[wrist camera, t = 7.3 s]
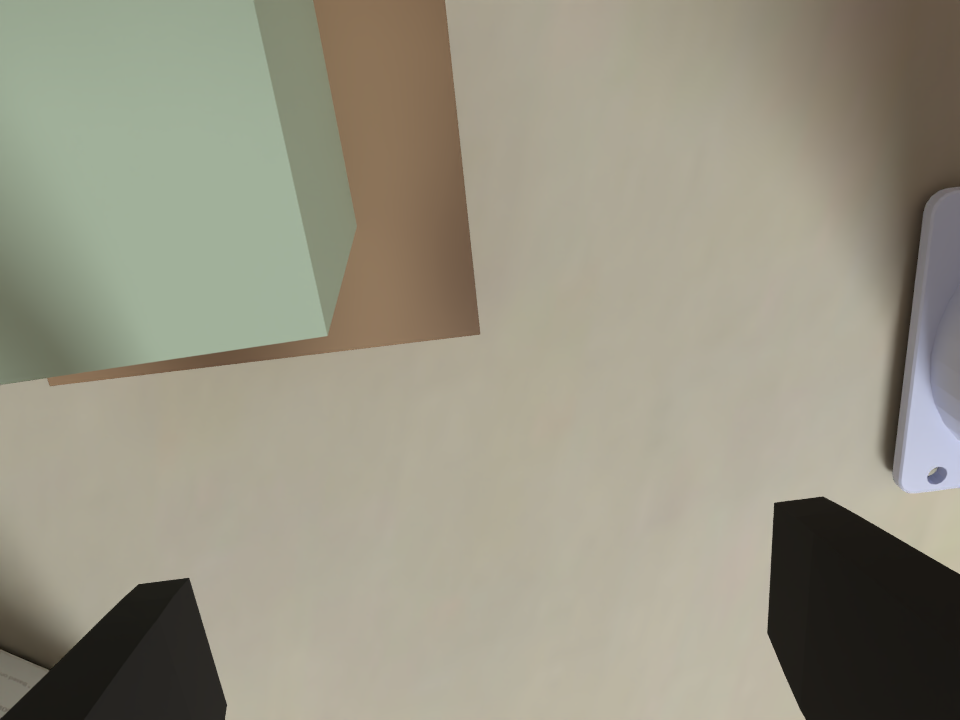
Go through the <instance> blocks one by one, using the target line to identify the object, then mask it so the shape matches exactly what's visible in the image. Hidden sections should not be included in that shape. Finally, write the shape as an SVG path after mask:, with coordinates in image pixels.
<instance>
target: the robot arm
mask: <svg viewBox="0 0 960 720" xmlns="http://www.w3.org/2000/svg"><path fill="white" fill-rule="evenodd" d="M936 467H938V468H937V470H936V472H935V473H934V474H932V475H930V476H928V474H929V472H930V471H931V470H932V469H933V468H936ZM892 475H893V480H894V482H895V483H896V484H897V485H898V486H899V487H900V488H901V489H902V490H903V491H905V492H907V493H922V492H930V491H937V490H945V489H953V488H960V187H952V188H946V189H943V190H940V191H938V192H937V193H935V194H934V195H932V196H931V198H930V199H929V200H928V202H927V203H926V206H925V209H924V212H923V220H922V229H921V237H920V245H919V254H918V262H917V271H916V279H915V287H914V296H913V304H912V313H911V321H910V329H909V338H908V346H907V355H906V363H905V371H904V380H903V388H902V397H901V405H900V413H899V422H898V430H897V439H896V447H895V455H894V464H893V472H892ZM767 633H768V636H769V638H770V640H771V643H772V645H773V648H774V650H775V652H776V655H777V657H778V660H779V662H780V665H781V667H782V669H783V672H784V674H785V676H786V679H787V681H788V683H789V685H790V688H791V690H792V692H793V694H794V697H795V699H796V701H797V703H798V706H799V708H800V710H801V712H802V713H803V715H804V717H805V719H806V720H960V574H958V573H957V572H955V571H953V570H951V569H950V568H948V567H946V566H944V565H943V564H941V563H939V562H937V561H936V560H934V559H932V558H930V557H929V556H927V555H925V554H923V553H922V552H920V551H918V550H917V549H915V548H913V547H911V546H910V545H908V544H906V543H905V542H903V541H901V540H899V539H898V538H896V537H894V536H893V535H891V534H889V533H887V532H886V531H884V530H882V529H881V528H879V527H877V526H875V525H874V524H872V523H870V522H868V521H867V520H865V519H863V518H862V517H860V516H858V515H856V514H855V513H853V512H851V511H849V510H847V509H846V508H844V507H842V506H840V505H838V504H836V503H834V502H832V501H830V500H829V499H827V498H825V497H816V498H808V499H801V500H793V501H785V502H777V503H774V518H773V537H772V556H771V575H770V593H769V612H768V631H767ZM226 707H227V704H226V700H225V697H224V694H223V690H222V687H221V684H220V680H219V677H218V673H217V670H216V667H215V663H214V660H213V657H212V653H211V650H210V647H209V643H208V640H207V636H206V633H205V630H204V626H203V623H202V620H201V616H200V613H199V610H198V606H197V603H196V599H195V596H194V593H193V589H192V586H191V583H190V579H189V578H184V579H176V580H169V581H161V582H153V583H145V584H138V585H137V586H136V587H135V588H134V589H133V590H132V591H131V592H130V593H128V594H127V595H126V596H125V597H124V598H123V599H122V600H121V601H120V602H119V603H118V604H117V605H116V606H115V607H114V608H113V609H112V610H111V611H109V612H108V613H107V614H106V615H105V616H104V617H103V618H102V619H101V620H100V621H99V622H98V623H97V624H96V625H95V626H94V627H93V628H92V629H91V630H90V631H89V632H88V633H87V634H86V635H85V636H84V637H83V638H82V639H81V640H80V641H79V642H78V643H77V644H76V645H75V646H74V647H73V648H72V649H71V650H70V651H69V652H68V653H67V654H66V655H65V656H64V657H63V658H62V659H61V660H60V661H59V662H58V663H57V664H56V665H55V666H54V667H53V668H52V669H51V670H50V671H49V672H48V673H47V674H46V675H45V676H44V677H43V678H42V679H41V680H40V681H39V682H38V683H36V684H35V685H34V686H33V687H32V688H31V689H30V690H29V691H28V692H27V693H26V694H25V695H24V696H23V697H22V698H21V699H20V700H19V701H18V702H17V703H16V704H15V705H14V706H13V707H12V708H11V709H10V710H9V711H8V712H7V713H6V714H5V715H4V716H3V717H1V718H0V720H225V714H226Z"/></svg>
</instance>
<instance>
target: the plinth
mask: <svg viewBox="0 0 960 720" xmlns="http://www.w3.org/2000/svg"><path fill="white" fill-rule="evenodd" d="M313 3H314V8H315V13H316V18H317V23H318V28H319V33H320V39H321V44H322V49H323V54H324V59H325V64H326V70H327V75H328V80H329V85H330V90H331V95H332V100H333V106H334V111H335V116H336V121H337V126H338V131H339V136H340V142H341V147H342V152H343V157H344V162H345V167H346V173H347V178H348V183H349V188H350V193H351V198H352V203H353V209H354V214H355V219H356V224H357V228H356V231H355V235H354V239H353V243H352V246H351V250H350V254H349V258H348V261H347V265H346V269H345V273H344V276H343V280H342V284H341V288H340V291H339V295H338V299H337V303H336V306H335V310H334V314H333V318H332V321H331V325H330V329H329V332H328V336H325V337H318V338H311V339H304V340H298V341H291V342H284V343H278V344H271V345H264V346H258V347H251V348H244V349H237V350H231V351H224V352H217V353H211V354H204V355H197V356H191V357H184V358H177V359H170V360H164V361H157V362H150V363H144V364H137V365H130V366H124V367H117V368H110V369H103V370H97V371H90V372H83V373H77V374H70V375H63V376H57V377H50V378H47V379H48V382H49V385H50V386H55V385H63V384H71V383H80V382H88V381H96V380H105V379H113V378H121V377H130V376H138V375H146V374H155V373H163V372H171V371H180V370H188V369H196V368H205V367H213V366H221V365H230V364H238V363H246V362H254V361H263V360H271V359H279V358H288V357H296V356H304V355H313V354H321V353H329V352H338V351H346V350H354V349H363V348H371V347H379V346H388V345H396V344H404V343H412V342H421V341H429V340H437V339H446V338H454V337H462V336H471V335H479V334H480V327H479V318H478V308H477V299H476V289H475V280H474V270H473V261H472V252H471V242H470V233H469V223H468V214H467V204H466V195H465V186H464V176H463V167H462V157H461V148H460V138H459V129H458V120H457V110H456V101H455V91H454V82H453V73H452V63H451V54H450V44H449V35H448V25H447V16H446V7H445V0H313Z"/></svg>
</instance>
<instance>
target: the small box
mask: <svg viewBox="0 0 960 720" xmlns="http://www.w3.org/2000/svg"><path fill="white" fill-rule="evenodd" d="M49 671H50V670H48V669H45V668H43V667H41V666H38V665H36V664H34V663H31V662H29V661H26V660H24V659H22V658H19V657H17V656H15V655H12V654H10V653H8V652H5V651H3V650H1V649H0V718H1V717H3V716H4V715H5V714H6V713H7V712H8V711H9V710H10V709H11V708H12V707H13V706H14V705H15V704H16V703H17V702H18V701H19V700H20V699H21V698H22V697H23V696H24V695H25V694H26V693H27V692H28V691H29V690H30V689H31V688H32V687H33V686H34V685H35V684H36V683H38V682H39V681H40V680H41V679H42V678H43V677H44V676H45V675H46V674H47V673H48V672H49Z"/></svg>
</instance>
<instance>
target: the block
mask: <svg viewBox="0 0 960 720" xmlns="http://www.w3.org/2000/svg"><path fill="white" fill-rule="evenodd" d="M356 228H357V224H356V219H355V214H354V209H353V203H352V198H351V193H350V188H349V183H348V178H347V173H346V167H345V162H344V157H343V152H342V147H341V142H340V136H339V131H338V126H337V121H336V116H335V111H334V106H333V100H332V95H331V90H330V85H329V80H328V75H327V70H326V64H325V59H324V54H323V49H322V44H321V39H320V33H319V28H318V23H317V18H316V13H315V8H314V3H313V0H0V385H3V384H10V383H16V382H23V381H30V380H36V379H43V378H50V377H57V376H63V375H70V374H77V373H83V372H90V371H97V370H103V369H110V368H117V367H124V366H130V365H137V364H144V363H150V362H157V361H164V360H170V359H177V358H184V357H191V356H197V355H204V354H211V353H217V352H224V351H231V350H237V349H244V348H251V347H258V346H264V345H271V344H278V343H284V342H291V341H298V340H304V339H311V338H318V337H325V336H328V332H329V329H330V325H331V321H332V318H333V314H334V310H335V306H336V303H337V299H338V295H339V291H340V288H341V284H342V280H343V276H344V273H345V269H346V265H347V261H348V258H349V254H350V250H351V246H352V243H353V239H354V235H355V231H356Z"/></svg>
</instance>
